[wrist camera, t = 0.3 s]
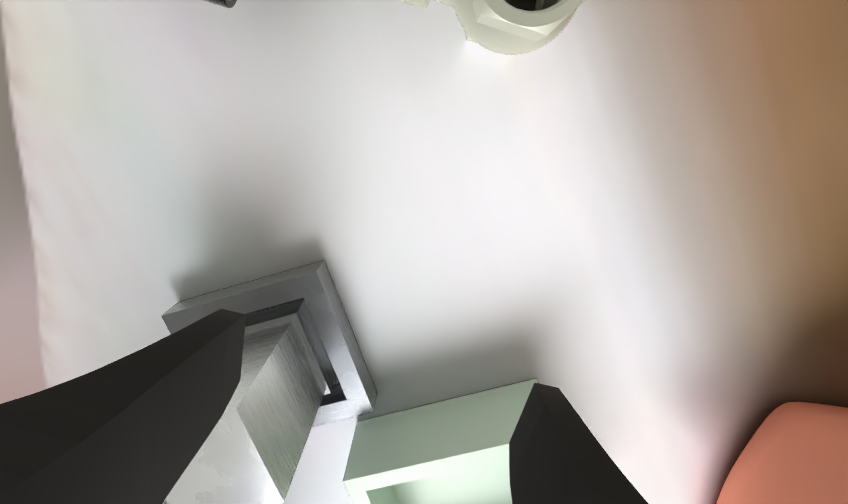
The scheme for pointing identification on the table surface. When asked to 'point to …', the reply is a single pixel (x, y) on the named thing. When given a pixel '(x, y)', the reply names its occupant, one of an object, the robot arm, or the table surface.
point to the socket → (327, 315)
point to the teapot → (793, 458)
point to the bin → (438, 451)
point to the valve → (501, 22)
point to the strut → (263, 414)
